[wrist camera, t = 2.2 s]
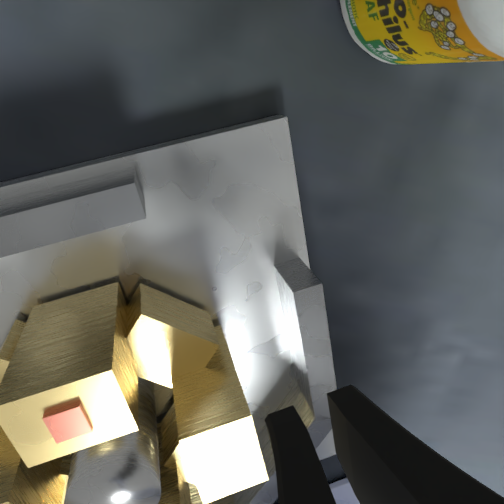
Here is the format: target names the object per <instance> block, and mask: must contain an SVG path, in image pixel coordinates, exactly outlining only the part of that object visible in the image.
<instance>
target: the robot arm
mask: <svg viewBox="0 0 504 504" xmlns="http://www.w3.org/2000/svg"><path fill="white" fill-rule="evenodd" d="M327 399H328V406H329V412H330V419H331V425H332V432H333V438H334V445H335V451H336V454H337V457H338V459H339V461H340V463H341V465H342V468H343V470H344V472H345V474H346V476H347V478H344V479H342V480H339V481H337V482H334V483H331V484H328V481H327V478H326V476H325V473H324V471H323V468H322V465H321V463H320V460H319V458H318V455H317V452H316V450H315V447H314V445H313V442H312V440H311V437H310V434H309V432H308V430H307V428H306V426H305V425H304V423H303V421H302V419H301V417H300V416H299V414H298V412H297V411H296V409H295V407H294V406H293V405H292V406H289V407H287V408H284V409H281V410H278V411H275V412H273V413H270V414H268V415H267V417H266V418H265V423H266V427H267V431H268V435H269V439H270V443H271V447H272V451H273V455H274V461H275V468H276V477H277V490H278V502H279V504H504V497H502V496H500V495H499V494H497V493H496V492H494V491H492V490H491V489H489V488H488V487H486V486H485V485H483V484H482V483H480V482H479V481H477V480H476V479H474V478H473V477H471V476H470V475H468V474H467V473H465V472H464V471H462V470H461V469H459V468H458V467H456V466H455V465H454V464H452V463H451V462H449V461H448V460H447V459H445V458H444V457H442V456H441V455H440V454H438V453H437V452H436V451H434V450H433V449H431V448H430V447H429V446H427V445H426V444H425V443H423V442H422V441H421V440H419V439H418V438H417V437H415V436H414V435H413V434H411V433H410V432H409V431H407V430H406V429H405V428H404V427H402V426H401V425H400V424H399V423H397V422H396V421H395V420H394V419H392V418H391V417H390V416H389V415H387V414H386V413H385V412H384V411H383V410H381V409H380V408H379V407H378V406H376V405H375V404H374V403H373V402H372V401H371V400H369V399H368V398H367V397H366V396H365V395H364V394H363V393H361V392H360V391H359V390H358V389H357V388H356V387H354V386H352V385H349V386H346V387H343V388H340V389H337V390H335V391H332V392H329V393H327Z"/></svg>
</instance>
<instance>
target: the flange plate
mask: <svg viewBox="0 0 504 504" xmlns="http://www.w3.org/2000/svg"><path fill="white" fill-rule="evenodd" d="M116 282H119V285H120V287H121V290H122V293H123V295H124V298H125V300H126V303H127V304H128V303H129V301H130V299H131V298H132V296H133V294H134V293H135V291H136V289H137V288H138V286H139V284H140V283H142V284H144V285H146V286H149V287H151V288H153V289H156V290H158V291H160V292H163V293H165V294H167V295H170V296H172V297H174V298H177V299H179V300H181V301H183V302H186V303H188V304H190V305H193V306H195V307H197V308H200V309H202V310H204V311H207V312H209V313H210V316H211V319H212V322H213V325H214V327H216V326H219V325H221V327H222V330H223V333H224V336H225V339H226V342H227V345H228V348H229V351H230V354H231V357H232V360H233V363H234V366H235V369H236V372H237V375H238V377H239V380H240V383H241V386H242V389H243V392H244V395H245V398H246V401H247V404H248V407H249V410H250V413H251V416H252V419H253V423H254V427H255V431H256V434H257V438H258V442H259V446H260V449H261V453H262V457H263V460H264V464H265V468H266V472H267V475H268V479H269V480H267V481H264V482H262V483H259V484H256V485H254V486H251V487H249V488H246V489H243V490H241V491H238V492H235V493H233V494H230V495H227V496H225V497H222V498H220V499H217V500H214V501H212V502H209V503H206V504H273V503H274V502H275V501H276V499H277V498H278V490H277V477H276V468H275V461H274V455H273V451H272V447H271V443H270V439H269V435H268V431H267V427H266V423H265V418H266V417H267V415H268V414H270V413H273V412H275V411H278V410H281V409H284V408H287V407H289V406H292V405H293V406H294V407H295V409H296V411H297V412H298V414H299V416H300V417H301V419H302V421H303V423H304V425H305V426H306V428H307V430H308V432H309V434H310V437H311V440H312V442H313V445H314V447H315V450H316V452H317V455H318V458H319V460H322V459H325V458H327V457H330V456H333V455H335V454H336V451H335V445H334V438H333V432H332V425H331V419H330V412H329V406H328V399H327V393H329V392H332V391H335V390H337V387H336V380H335V372H334V365H333V358H332V351H331V343H330V336H329V329H328V322H327V314H326V307H325V300H324V293H323V285H322V283H321V281H320V280H319V279H318V278H317V277H316V276H315V275H314V273H313V272H312V271H311V270H310V265H309V259H308V252H307V245H306V239H305V232H304V225H303V219H302V212H301V205H300V199H299V192H298V185H297V179H296V172H295V165H294V159H293V152H292V146H291V139H290V132H289V126H288V119H287V117H286V116H283V115H274V116H270V117H266V118H262V119H258V120H254V121H250V122H246V123H242V124H238V125H234V126H229V127H225V128H221V129H217V130H213V131H209V132H205V133H201V134H197V135H193V136H189V137H184V138H180V139H176V140H172V141H168V142H164V143H160V144H156V145H152V146H148V147H144V148H139V149H135V150H131V151H127V152H123V153H119V154H115V155H111V156H107V157H103V158H99V159H94V160H90V161H86V162H82V163H78V164H74V165H70V166H66V167H62V168H58V169H54V170H49V171H45V172H41V173H37V174H33V175H29V176H25V177H21V178H17V179H13V180H9V181H4V182H0V348H1V346H2V344H3V342H4V340H5V338H6V337H7V335H8V333H9V331H10V329H11V327H12V325H13V324H14V322H15V320H19V321H22V322H25V323H26V322H27V320H28V317H29V315H30V313H31V310H32V308H33V306H36V305H40V304H43V303H47V302H50V301H54V300H57V299H60V298H64V297H67V296H71V295H74V294H78V293H81V292H85V291H88V290H92V289H95V288H98V287H102V286H105V285H109V284H112V283H116ZM173 403H174V396H173V388H170V387H167V386H164V385H161V384H158V383H155V382H152V381H149V380H146V379H143V378H140V377H138V420H139V430H137V431H134V432H132V433H129V434H126V435H123V436H120V437H117V438H114V439H111V440H108V441H105V442H102V443H100V444H97V445H94V446H91V447H88V448H85V449H82V450H79V451H76V452H73V453H72V456H71V463H70V469H69V475H68V481H67V487H66V494H65V500H64V504H158V503H159V501H160V497H161V482H160V467H159V451H158V436H157V424H159V423H161V421H162V420H163V418H164V417H165V415H166V414H167V412H168V411H169V409H170V408H171V406H172V405H173ZM189 488H190V496H191V503H192V504H203V501H202V499H201V496H200V494H199V491H198V488H197V486H196V484H193V483H189Z"/></svg>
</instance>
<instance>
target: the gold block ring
mask: <svg viewBox="0 0 504 504" xmlns="http://www.w3.org/2000/svg"><path fill="white" fill-rule="evenodd" d="M138 377H140V378H143V379H146V380H149V381H152V382H155V383H158V384H161V385H164V386H167V387H170V388H173V396H174V403H173V405H172V406H171V408H170V409H169V411H168V412H167V414H166V415H165V417H164V418H163V420H162V421H161V423H159V424H157V436H158V451H159V467H160V482H161V497H160V501H159V503H158V504H192V503H191V496H190V488H189V483H193V484H196V486H197V488H198V491H199V494H200V496H201V499H202V501H203V504H206V503H209V502H212V501H214V500H217V499H220V498H222V497H225V496H227V495H230V494H233V493H235V492H238V491H241V490H243V489H246V488H249V487H251V486H254V485H256V484H259V483H262V482H264V481H267V480H269V479H268V475H267V472H266V468H265V464H264V460H263V457H262V453H261V449H260V446H259V442H258V438H257V434H256V431H255V427H254V423H253V419H252V416H251V413H250V410H249V407H248V404H247V401H246V398H245V395H244V392H243V389H242V386H241V383H240V380H239V377H238V375H237V372H236V369H235V366H234V363H233V360H232V357H231V354H230V351H229V348H228V345H227V342H226V339H225V336H224V333H223V330H222V327H221V325H219V326H216V327H214V325H213V322H212V319H211V316H210V313H209V312H207V311H204V310H202V309H200V308H197V307H195V306H193V305H190V304H188V303H186V302H183V301H181V300H179V299H177V298H174V297H172V296H170V295H167V294H165V293H163V292H160V291H158V290H156V289H153V288H151V287H149V286H146V285H144V284H142V283H140V284H139V286H138V288H137V289H136V291H135V293H134V294H133V296H132V298H131V299H130V301H129V303H128V304H127V303H126V300H125V298H124V295H123V293H122V290H121V287H120V285H119V282H116V283H112V284H109V285H105V286H102V287H98V288H95V289H92V290H88V291H85V292H81V293H78V294H74V295H71V296H67V297H64V298H60V299H57V300H54V301H50V302H47V303H43V304H40V305H36V306H33V308H32V310H31V313H30V315H29V317H28V320H27V322H26V323H25V322H22V321H19V320H15V322H14V324H13V325H12V327H11V329H10V331H9V333H8V335H7V337H6V338H5V340H4V342H3V344H2V346H1V348H0V504H64V500H65V494H66V487H67V481H68V475H69V469H70V463H71V456H72V453H73V452H76V451H79V450H82V449H85V448H88V447H91V446H94V445H97V444H100V443H102V442H105V441H108V440H111V439H114V438H117V437H120V436H123V435H126V434H129V433H132V432H134V431H137V430H139V420H138Z"/></svg>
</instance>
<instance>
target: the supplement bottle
mask: <svg viewBox="0 0 504 504" xmlns="http://www.w3.org/2000/svg"><path fill="white" fill-rule="evenodd" d="M340 5H341V10H342V14H343V18H344V21H345V24H346V26H347V29H348V31H349V33H350V35H351V36H352V38H353V40H354V41H355V42H356V43H357V44H358V45H359V46H360V47H361V48H362V49H363V50H365V51H366V52H367V53H368V54H370V55H371V56H372V57H374V58H376V59H378V60H380V61H382V62H385V63H389V64H401V65H410V64H428V63H457V62H490V61H504V0H340Z"/></svg>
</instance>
